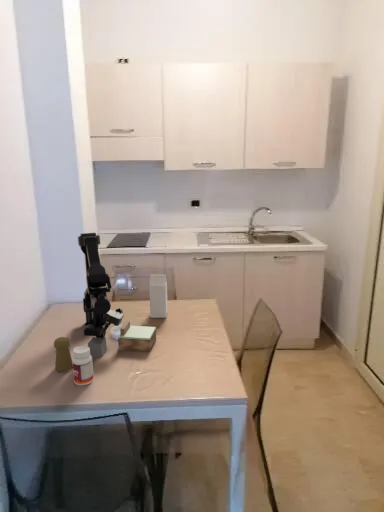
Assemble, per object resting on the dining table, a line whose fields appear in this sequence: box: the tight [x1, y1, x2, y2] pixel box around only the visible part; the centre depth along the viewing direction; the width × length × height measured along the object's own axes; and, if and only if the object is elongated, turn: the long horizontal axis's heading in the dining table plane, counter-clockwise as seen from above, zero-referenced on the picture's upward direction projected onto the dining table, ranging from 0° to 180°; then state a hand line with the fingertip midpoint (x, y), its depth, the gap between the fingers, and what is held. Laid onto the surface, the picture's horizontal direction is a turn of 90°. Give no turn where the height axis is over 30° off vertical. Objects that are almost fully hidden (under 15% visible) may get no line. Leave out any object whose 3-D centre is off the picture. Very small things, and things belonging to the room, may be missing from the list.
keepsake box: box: [117, 328, 157, 353], centre depth 157 cm, size 12×10×4 cm
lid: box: [117, 320, 157, 340], centre depth 156 cm, size 12×10×3 cm
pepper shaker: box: [53, 336, 73, 373], centre depth 140 cm, size 6×6×11 cm
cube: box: [87, 336, 108, 358], centre depth 151 cm, size 5×5×5 cm
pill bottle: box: [71, 345, 94, 386], centre depth 132 cm, size 6×6×11 cm
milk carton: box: [148, 274, 168, 319], centre depth 184 cm, size 7×7×19 cm
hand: (102, 343), depth 155 cm, fingers closed
